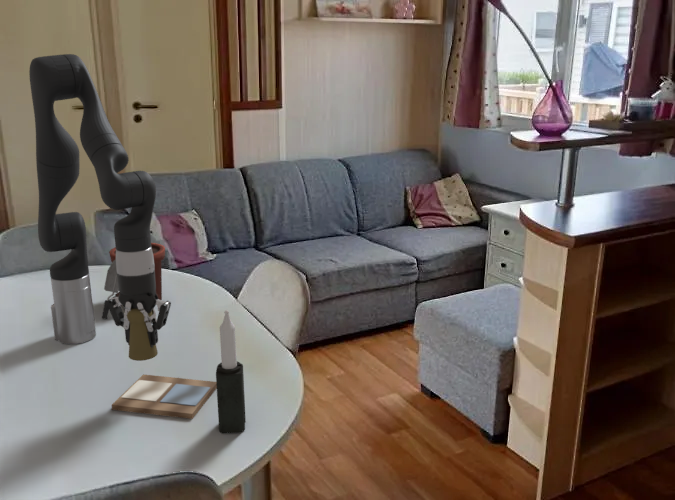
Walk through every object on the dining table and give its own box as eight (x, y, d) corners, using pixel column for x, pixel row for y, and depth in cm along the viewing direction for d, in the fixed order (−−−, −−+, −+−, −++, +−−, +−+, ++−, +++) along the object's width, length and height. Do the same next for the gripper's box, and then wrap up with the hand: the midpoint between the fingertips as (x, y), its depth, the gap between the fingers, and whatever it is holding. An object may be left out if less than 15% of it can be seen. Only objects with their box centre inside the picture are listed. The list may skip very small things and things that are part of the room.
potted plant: (178, 305, 200) (172, 223, 193) (102, 320, 190) (93, 233, 182) (159, 288, 215) (152, 210, 208) (88, 301, 204) (78, 220, 197)
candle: (220, 420, 139) (214, 305, 132) (245, 419, 139) (240, 305, 132) (218, 433, 134) (211, 315, 127) (244, 432, 135) (239, 314, 127)
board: (112, 409, 143) (111, 403, 143) (143, 379, 156) (143, 373, 156) (192, 419, 140) (192, 412, 139) (217, 386, 153) (217, 381, 152)
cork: (149, 361, 142) (145, 312, 139) (123, 359, 144) (118, 310, 140) (162, 349, 148) (158, 302, 145) (136, 347, 149) (132, 300, 146)
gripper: (94, 272, 138) (102, 349, 143) (159, 276, 135) (165, 355, 140) (113, 261, 145) (120, 335, 150) (175, 265, 142) (181, 340, 147)
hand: (142, 344), depth 145 cm, fingers closed on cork, 4 cm apart
